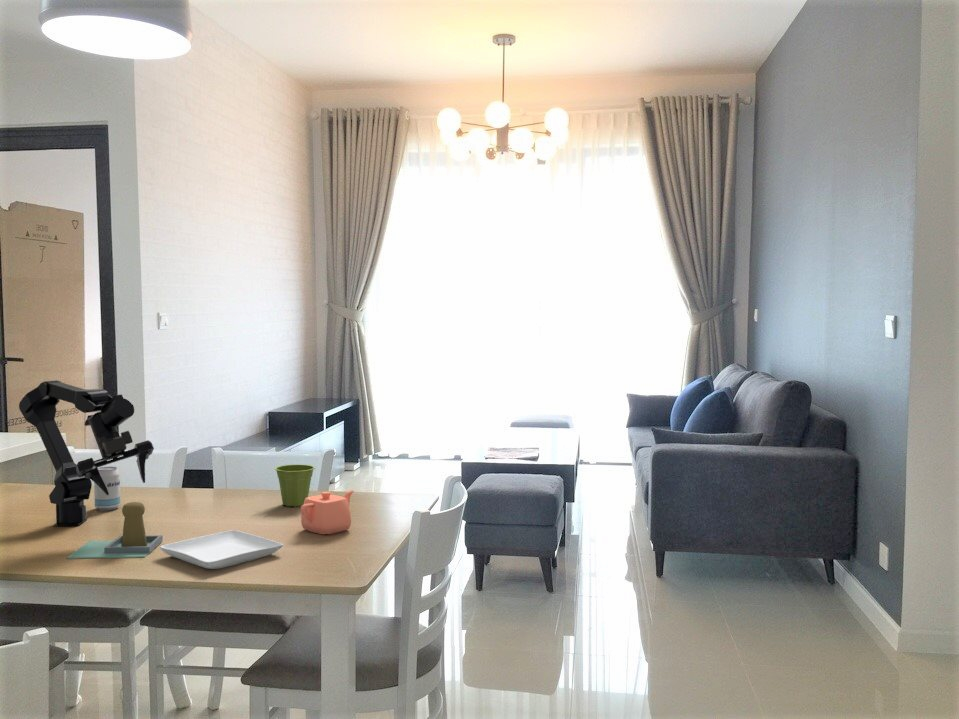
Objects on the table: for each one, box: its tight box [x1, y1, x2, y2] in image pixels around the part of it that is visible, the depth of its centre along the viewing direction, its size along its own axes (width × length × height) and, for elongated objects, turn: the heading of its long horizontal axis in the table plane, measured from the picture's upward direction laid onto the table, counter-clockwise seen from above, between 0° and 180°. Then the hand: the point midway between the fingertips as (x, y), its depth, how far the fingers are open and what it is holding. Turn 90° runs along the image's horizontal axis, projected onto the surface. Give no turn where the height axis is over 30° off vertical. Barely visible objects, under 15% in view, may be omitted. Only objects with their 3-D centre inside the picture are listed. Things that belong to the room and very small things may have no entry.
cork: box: [121, 501, 147, 547], centre depth 211 cm, size 6×6×11 cm
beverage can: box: [93, 466, 121, 512], centre depth 251 cm, size 7×7×12 cm
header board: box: [66, 534, 164, 559], centre depth 210 cm, size 18×14×2 cm
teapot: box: [299, 489, 355, 536], centre depth 230 cm, size 12×18×10 cm, turn 139°
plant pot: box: [274, 464, 316, 507], centre depth 258 cm, size 12×12×11 cm
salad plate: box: [159, 529, 284, 570], centre depth 205 cm, size 21×21×3 cm
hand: (126, 488), depth 222 cm, fingers open, 9 cm apart
